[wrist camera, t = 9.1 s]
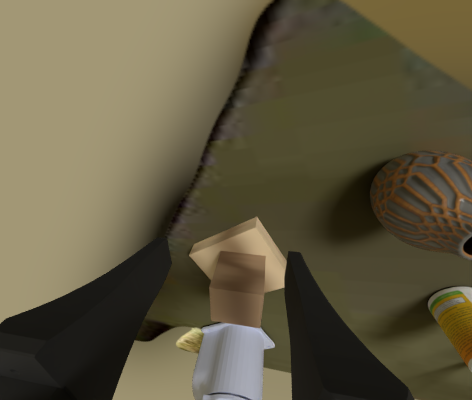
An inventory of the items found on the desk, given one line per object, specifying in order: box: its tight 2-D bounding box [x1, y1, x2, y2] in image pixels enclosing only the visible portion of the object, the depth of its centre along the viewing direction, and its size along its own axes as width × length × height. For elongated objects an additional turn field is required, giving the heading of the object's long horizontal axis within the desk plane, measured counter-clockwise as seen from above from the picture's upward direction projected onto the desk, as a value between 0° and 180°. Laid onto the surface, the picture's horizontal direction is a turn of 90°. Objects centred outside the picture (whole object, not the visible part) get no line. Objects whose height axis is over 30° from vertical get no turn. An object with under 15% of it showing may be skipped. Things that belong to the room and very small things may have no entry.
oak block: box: [189, 217, 287, 293], centre depth 26 cm, size 9×9×2 cm
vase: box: [370, 151, 472, 260], centre depth 15 cm, size 7×7×9 cm
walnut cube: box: [209, 251, 266, 328], centre depth 23 cm, size 5×5×5 cm
